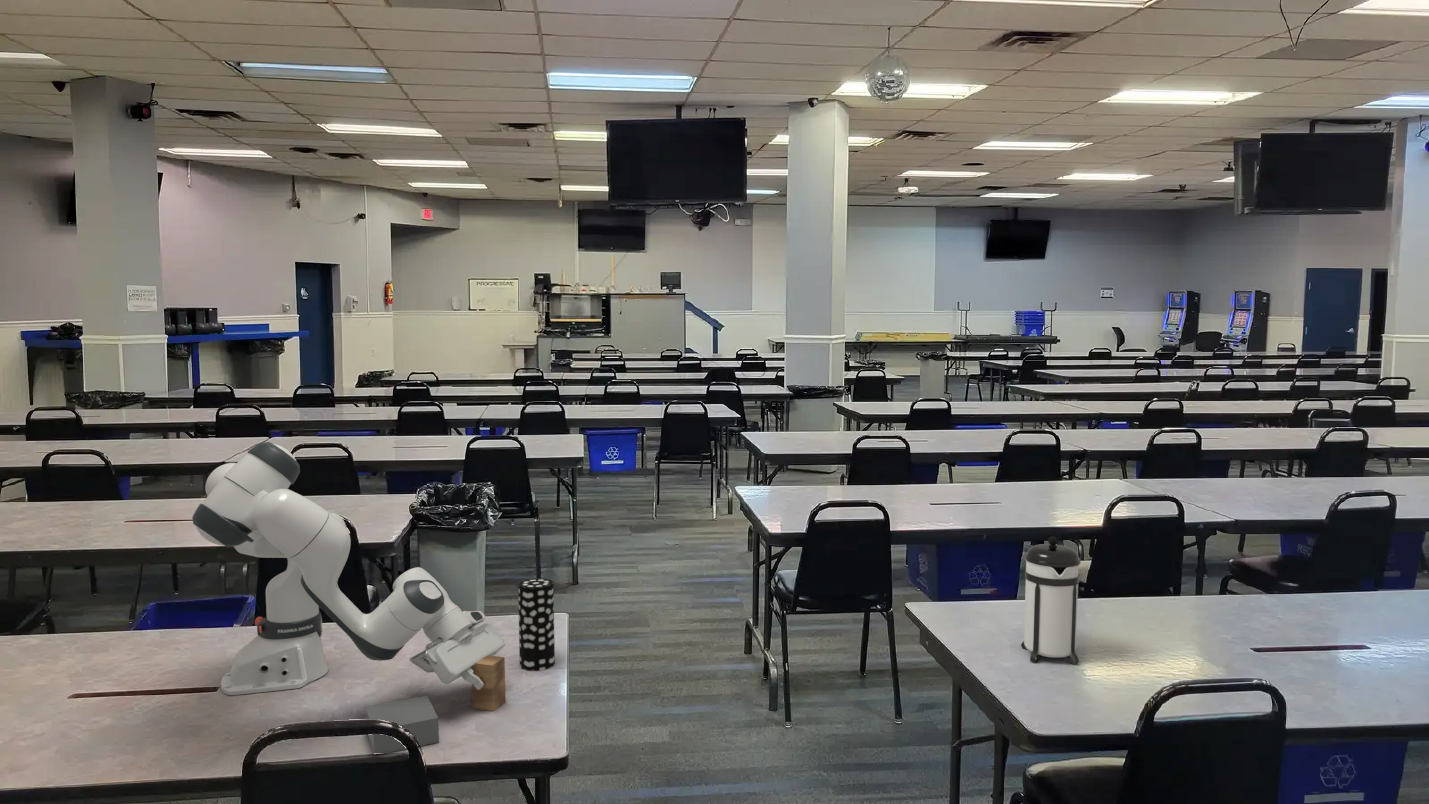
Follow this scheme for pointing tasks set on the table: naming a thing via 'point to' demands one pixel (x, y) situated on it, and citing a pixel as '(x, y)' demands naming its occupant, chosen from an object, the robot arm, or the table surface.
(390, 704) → the block
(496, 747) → the table surface
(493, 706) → the oak block
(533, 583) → the spotted tube
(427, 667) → the grey hexagonal ring
